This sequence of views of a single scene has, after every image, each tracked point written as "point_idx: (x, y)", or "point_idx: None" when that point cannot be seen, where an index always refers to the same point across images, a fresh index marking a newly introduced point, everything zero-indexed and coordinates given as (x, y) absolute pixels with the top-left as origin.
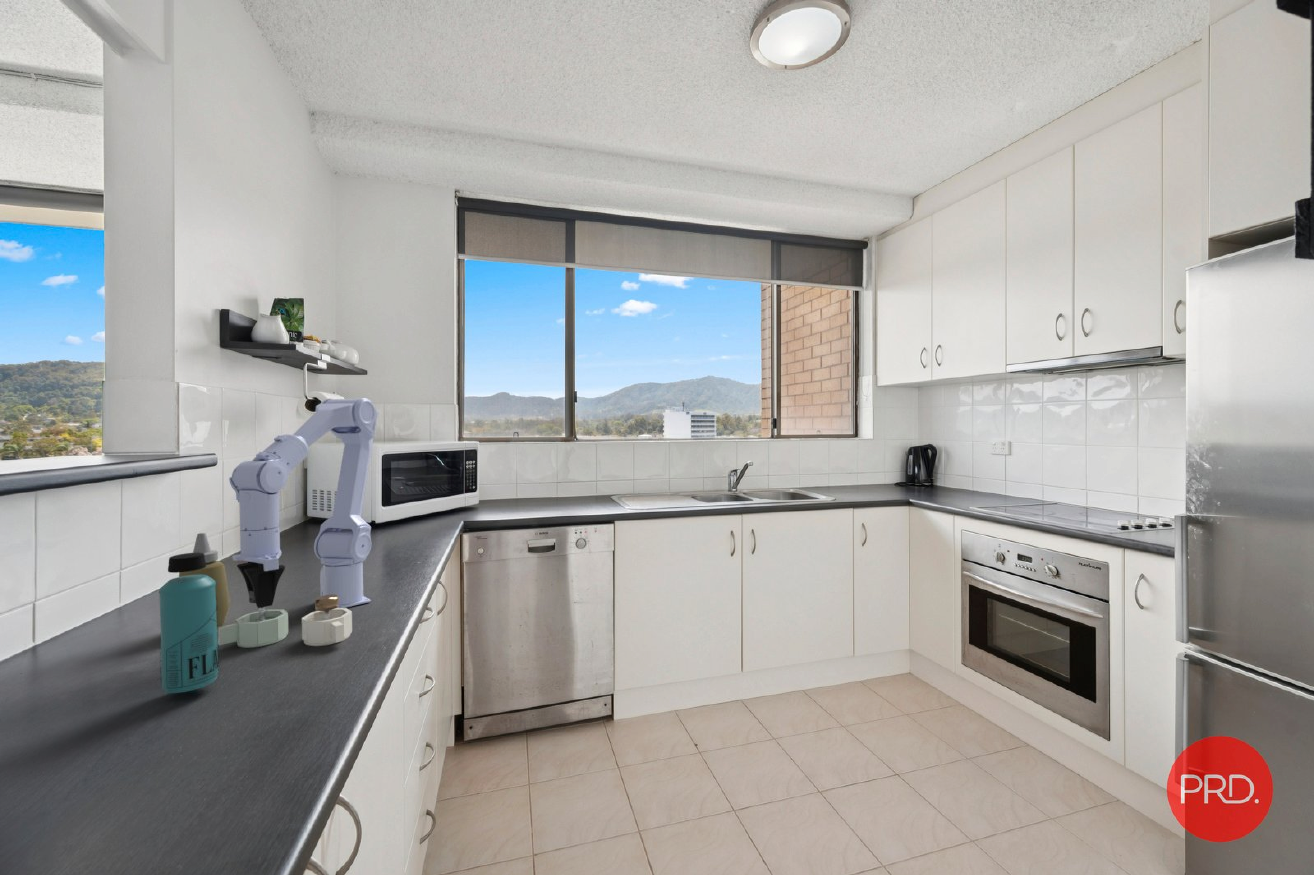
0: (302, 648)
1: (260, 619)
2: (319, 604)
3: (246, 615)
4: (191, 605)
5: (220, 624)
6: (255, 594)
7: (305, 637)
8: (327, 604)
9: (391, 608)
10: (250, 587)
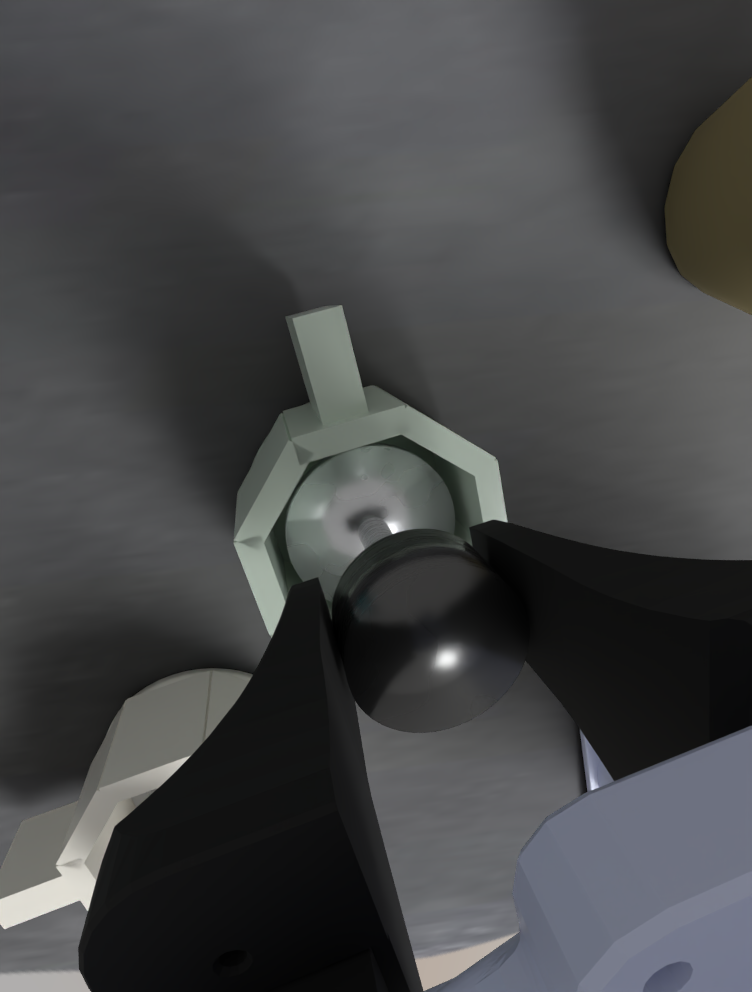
0: (112, 673)
1: (366, 535)
2: None
3: (463, 459)
4: None
5: (697, 284)
6: (269, 645)
7: (150, 705)
8: None
9: (465, 896)
10: (537, 574)
